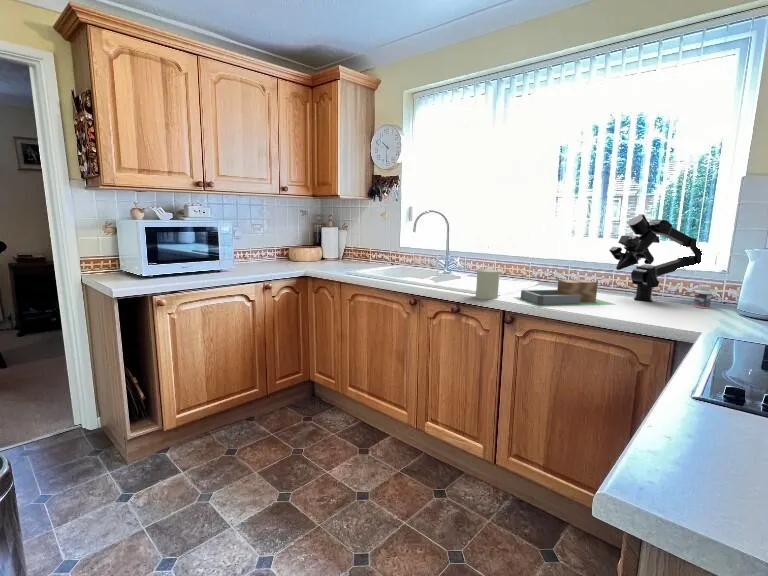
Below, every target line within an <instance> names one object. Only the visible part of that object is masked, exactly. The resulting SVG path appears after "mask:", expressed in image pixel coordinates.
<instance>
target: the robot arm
mask: <svg viewBox="0 0 768 576" xmlns="http://www.w3.org/2000/svg"><path fill="white" fill-rule="evenodd" d="M627 225H628V226H629V227H630V229H631V230H632V232H633V233H634V235H633V236H631V235H621V236H620V239H619V240H618V244H621V245H622V246H623V249H622V247H621V246H612V247H611V248H610V249H609V250H608V251H609V253H610V254H611V255H612V256H613V258H614V259H616V260H617V261H618V263H617V266H616V268H615V269H616V270H617V271H620V270H623V269H626V268H629V267H631V266H634V265H638V264H639V261H640V260H642V259H644V261H643V263H644V264H642V265H639V266H636V267H635V268H633V269H632V271H631V274H630V277H631V283H632V285H636V291H635V296H634V298H633V299H634V300H637V301H643V302H644V301H645V302H653V298H652V293H653V288H658V287H659V285H660V281H659V280H658V277H660V276H664V275H667V274H670V273H673V272H676V271H675V270H676V269H677V268H680V267H684V266H689V265H694V264H696V263H698V264H699V263H700V262H701V255H702V253H701V252H702V251H703V250H702V251H700V249H698V248H697V247H696V241H697V239H696V238H694V237H691V236H689V235H687V234H686V233H683V232H682V231H679V230H678V229H676V228H675V227H673V224H672V223H670V222H669V221H668V219H651V220H650V221H648V219H647V218H646V215H645V214H641V213H640V214H638V215H637V216H634V217H632V218H631V219H629V221H628V222H627ZM660 236H662V237H665V238H667V239H669V240H671V241H673V242H674V243H676V244H678V245H680V246H681V245H683V246H686V247H687V248H690V250H691V251H692V254H695V256H689V257H683V258H678V257H677V259H674V260H670V261H668V262H664V263H660V264H656V265H652V264H653V262H655V261H654V260H655V257H654V256H653V254H652V253H651V252H650V249H649V247H650V246H651V245H652V244H653V243H654V244H656V243H657V244H659V243H660ZM697 242H698V241H697Z"/></svg>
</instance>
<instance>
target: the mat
mask: <svg viewBox="0 0 768 576" xmlns="http://www.w3.org/2000/svg"><path fill="white" fill-rule="evenodd" d="M512 298H513V299H516V300H519V301H521V302H525V303H526V304H530V305H532V306H536V307H538V308H540V307H541V308H542V307H573V306H575V307H576V306H579V307H580V306H607V305H613V306H614V305H617V304H616V303H612V302H609V301H604V300H601V299H598V298H596V302H580V304H561V305H538V304H535V303H532V302H529V301H526V300H523V299H521V296H516V297H515V296H514V297H512Z"/></svg>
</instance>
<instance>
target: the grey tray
mask: <svg viewBox="0 0 768 576" xmlns="http://www.w3.org/2000/svg"><path fill="white" fill-rule="evenodd" d="M520 297H521V299H523V300H526V301H529V302H532V303H535V304H538V305H561V304H580V295H557V289H522V290H521V291H520Z"/></svg>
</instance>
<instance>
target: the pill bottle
mask: <svg viewBox="0 0 768 576" xmlns="http://www.w3.org/2000/svg"><path fill="white" fill-rule="evenodd" d="M697 286H698V287H697V289H696V290H695V291H694V298H693V304H692V306H693V307H694V308H697V307H698V309H709V308H710V306H711V301H712V292H711V289H712V285H708V284H698V285H697Z"/></svg>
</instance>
